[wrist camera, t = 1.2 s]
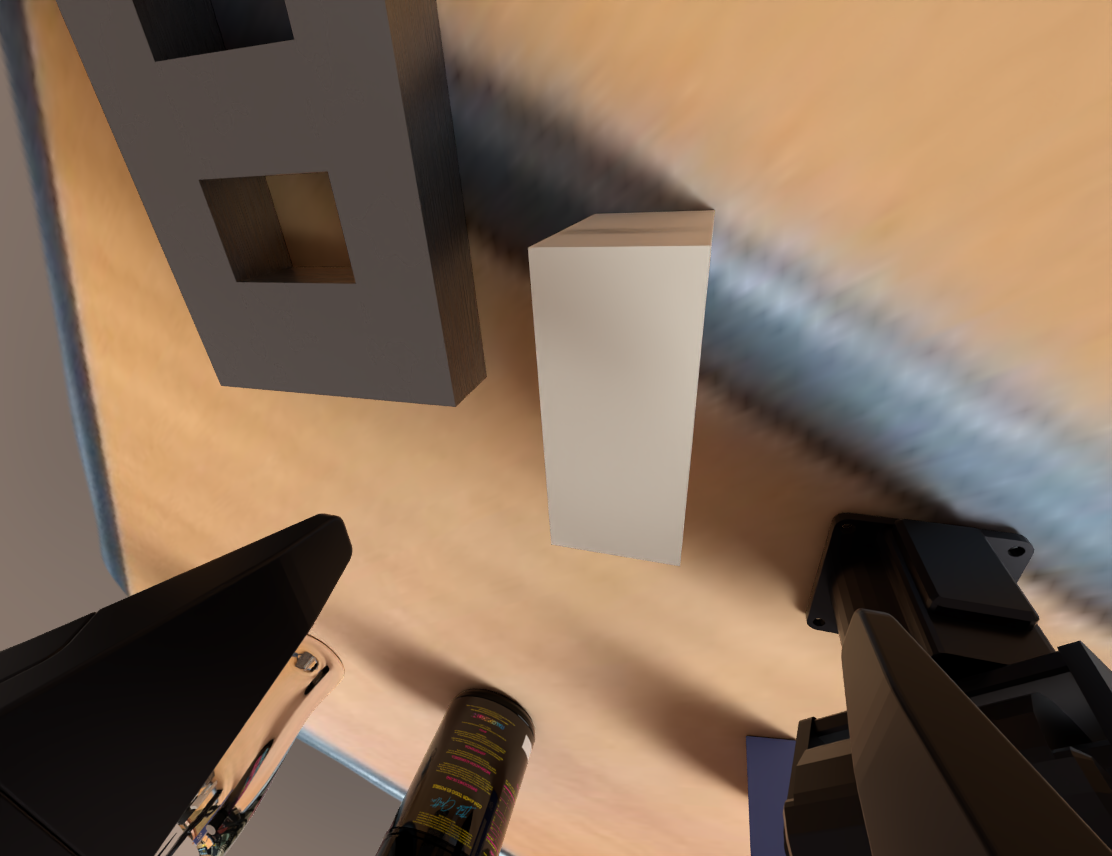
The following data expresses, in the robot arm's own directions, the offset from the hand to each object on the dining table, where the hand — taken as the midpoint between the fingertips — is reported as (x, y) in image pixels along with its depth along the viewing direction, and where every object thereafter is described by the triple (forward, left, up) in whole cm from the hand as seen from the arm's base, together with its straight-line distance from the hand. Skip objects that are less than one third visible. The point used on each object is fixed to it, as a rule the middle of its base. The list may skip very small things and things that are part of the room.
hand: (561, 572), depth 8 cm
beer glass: (-28, +26, -12) cm, 40 cm away
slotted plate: (+8, +13, -12) cm, 20 cm away
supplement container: (-29, +10, -12) cm, 33 cm away
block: (0, 0, -12) cm, 12 cm away
